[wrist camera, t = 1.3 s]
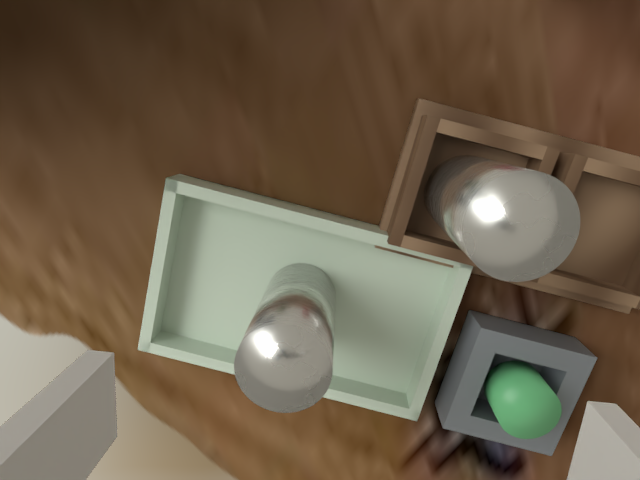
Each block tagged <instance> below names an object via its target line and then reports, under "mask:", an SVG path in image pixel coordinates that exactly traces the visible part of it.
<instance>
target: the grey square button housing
mask: <svg viewBox="0 0 640 480" xmlns="http://www.w3.org/2000/svg"><path fill="white" fill-rule="evenodd" d="M513 360H516V361H523V362H526V363H528V364H530V365H532V366H533V367H534V368H535V369H536V370H537V371H538V372H539V374H540V375H541V376H542V378H543V379H544V380H545V381H546V383H547V384H548V385H549V387H550V388H551V389H552V390H553V392H554V393H555V394H556V395H557V397H558V398H559V400H560V403H561V409H562V411H561V417H560V419H559V421H558V423H557V425H556V426H555V427H554V428H553V429H552V430H551V431H550V432H548V433H547V434H545V435H543V436H541V437H538V438H534V439H521V438H516V437H514V436H511V435H510V434H508V433H507V432H506V431H504V429H503V428H502V427H501V425H500V424H499V422H498V420H497V418H496V416H495V414H494V412H493V410H492V408H491V406H490V404H489V402H488V400H487V398H486V396H485V394H484V389H483V387H484V381H485V378H486V376H487V374H488V373H489V372H490V371H491V370H492V369H493V368H494V367H495V366H497V365H499V364H500V363H503V362H506V361H513ZM596 360H597V357H596V356H595V355H594V354H593V353H592V352H590V351H589V350H588V349H587V348H586V347H585V346H584V345H583V344H582V343H581V342H580V341H579V340H577V339H576V338H575V337H572V336H568V335H565V334H561V333H557V332H553V331H549V330H545V329H541V328H538V327H534V326H530V325H526V324H522V323H518V322H515V321H511V320H507V319H503V318H499V317H495V316H491V315H488V314H484V313H480V312H476V311H472V310H469V311H468V314H467V316H466V319H465V322H464V324H463V327H462V330H461V333H460V335H459V338H458V341H457V343H456V346H455V349H454V351H453V354H452V357H451V360H450V362H449V365H448V368H447V370H446V373H445V376H444V378H443V381H442V384H441V387H440V389H439V392H438V395H437V397H436V400H435V406H436V409H437V412H438V415H439V418H440V421H441V424H442V427H443V428H444V429H448V430H452V431H456V432H460V433H463V434H467V435H471V436H475V437H479V438H483V439H487V440H491V441H495V442H499V443H502V444H506V445H510V446H514V447H518V448H522V449H526V450H530V451H534V452H538V453H542V454H545V455H549V456H552V454H553V452H554V450H555V448H556V446H557V444H558V442H559V439H560V437H561V435H562V433H563V431H564V429H565V427H566V424H567V422H568V420H569V418H570V416H571V414H572V412H573V409H574V407H575V405H576V403H577V401H578V399H579V397H580V394H581V392H582V390H583V388H584V386H585V384H586V381H587V379H588V377H589V375H590V373H591V371H592V369H593V366H594V364H595V362H596Z"/></svg>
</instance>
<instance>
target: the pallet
mask: <svg viewBox="0 0 640 480" xmlns="http://www.w3.org/2000/svg"><path fill="white" fill-rule="evenodd" d="M459 155H472V156H477V157H481V158H485V159H490V160H494V161H498V162H502V163H506V164H510V165H514V166H518V167H523V168H527V169H531V170H535V171H539V172H543V173H546V174H549V175H551V176H553V177H555V178H557V179H558V180H560V181H561V182H563V183H564V184H565V185H566V186H567V187H568V188H569V190H570V191H571V192H572V194H573V195H574V197H575V199H576V201H577V204H578V207H579V211H580V230H579V235H578V238H577V241H576V243H575V245H574V247H573V249H572V251H571V252H570V254H569V255H568V257H567V258H566V259H565V260H564V261H563V262H562V263H561V264H560V265H559V266H558V267H557V268H555V269H554V270H553V271H551V272H549V273H548V274H546V275H544V276H542V277H539V278H536V279H533V280H529V281H523V282H509V281H504V282H508V283H512V284H516V285H520V286H524V287H527V288H531V289H535V290H539V291H543V292H547V293H550V294H554V295H558V296H562V297H566V298H570V299H573V300H577V301H581V302H585V303H589V304H593V305H596V306H600V307H604V308H608V309H612V310H616V311H619V312H623V313H627V314H629V313H630V311H631V308H635V309H639V310H640V157H639V156H635V155H631V154H627V153H624V152H620V151H616V150H612V149H609V148H605V147H601V146H597V145H593V144H590V143H586V142H582V141H578V140H575V139H571V138H567V137H563V136H560V135H556V134H552V133H548V132H545V131H541V130H537V129H533V128H530V127H526V126H522V125H518V124H514V123H511V122H507V121H503V120H499V119H496V118H492V117H488V116H484V115H481V114H477V113H473V112H469V111H466V110H462V109H458V108H454V107H450V106H447V105H443V104H439V103H435V102H432V101H428V100H424V99H420V98H419V99H417V100H416V103H415V106H414V110H413V113H412V116H411V120H410V123H409V127H408V130H407V133H406V137H405V140H404V143H403V147H402V150H401V153H400V157H399V160H398V163H397V167H396V170H395V174H394V177H393V180H392V184H391V187H390V190H389V194H388V197H387V200H386V204H385V207H384V211H383V214H382V217H381V221H380V224H379V227H380V230H383V231H387V233H388V240H387V242H388V244H390V245H394V246H398V247H402V248H405V249H409V250H413V251H417V252H421V253H425V254H428V255H432V256H436V257H440V258H444V259H448V260H451V261H455V262H459V263H463V264H467V265H471V266H473V269H472V271H471V273H474V274H478V275H481V276H485V277H489V278H493V279H496V278H494V277H492V276H490V275H488V274H486V273H485V272H483V271H482V270H481V269H479V268H478V267H477V266H476V265H475V264H474V263H473V261H472V260H471V259H470V258H469V257H468V256H467V255H466V254H465V253H464V252H463V251H462V250H461V249H460V248H459V247H458V245H457V244H456V243H455V242H454V241H453V240H452V239H451V238H450V237H449V236H448V235H447V234H446V233H445V232H444V230H443V229H442V228H441V227H440V226H439V225H438V224H437V223H436V222H435V221H434V220H433V219H432V217H431V216H430V214H429V213H428V211H427V209H426V205H425V201H424V191H425V186H426V183H427V180H428V178H429V176H430V174H431V173H432V172H433V170H434V169H435V168H436V167H437V166H438V165H439V164H441V163H442V162H444V161H445V160H447V159H449V158H452V157H455V156H459ZM374 246H375V248H378V249H382V250H386V251H389V252H393V253H397V254H401V255H405V256H409V257H412V258H416V259H420V260H424V261H428V262H432V263H435V264H439V265H443V266H447V267H451V268H453V266H454V265H450V264H446V263H442V262H438V261H434V260H431V259H427V258H423V257H419V256H415V255H411V254H408V253H404V252H400V251H396V250H392V249H388V248H385V247H381V246H377V245H374ZM497 280H499V279H497ZM501 281H503V280H501Z"/></svg>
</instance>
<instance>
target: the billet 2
mask: <svg viewBox="0 0 640 480" xmlns="http://www.w3.org/2000/svg"><path fill="white" fill-rule="evenodd" d="M424 201H425V205H426V209H427V211H428V213H429V214H430V216H431V217H432V219H433V220H434V221H435V222H436V223H437V224H438V225H439V226H440V227H441V228H442V229H443V230H444V232H445V233H446V234H447V235H448V236H449V237H450V238H451V239H452V240H453V241H454V242H455V243H456V244H457V245H458V247H459V248H460V249H461V250H462V251H463V252H464V253H465V254H466V255H467V256H468V257H469V258H470V259H471V260H472V261H473V263H474V264H475V265H476V266H477V267H478V268H479V269H481V270H482V271H483V272H485V273H486V274H488V275H490V276H492V277H494V278H496V279H499V280H503V281H509V282H523V281H529V280H533V279H536V278H539V277H542V276H544V275H546V274H548V273H549V272H551V271H553V270H554V269H555V268H557V267H558V266H559V265H560V264H561V263H562V262H563V261H564V260H565V259H566V258H567V257H568V255H569V254H570V252H571V251H572V249H573V247H574V245H575V243H576V241H577V238H578V235H579V230H580V211H579V207H578V204H577V201H576V199H575V197H574V195H573V194H572V192H571V191H570V190H569V188H568V187H567V186H566V185H565V184H564V183H563V182H561V181H560V180H558V179H557V178H555V177H553V176H551V175H549V174H546V173H543V172H539V171H535V170H531V169H527V168H523V167H518V166H514V165H510V164H506V163H502V162H498V161H494V160H490V159H485V158H481V157H477V156H472V155H459V156H455V157H452V158H449V159H447V160H445V161H444V162H442V163H441V164H439V165H438V166H437V167H436V168H435V169H434V170H433V172H432V173H431V174H430V176H429V178H428V180H427V183H426V186H425V191H424Z"/></svg>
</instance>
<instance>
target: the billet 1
mask: <svg viewBox="0 0 640 480" xmlns="http://www.w3.org/2000/svg"><path fill="white" fill-rule="evenodd" d="M335 309H336V291H335V287H334V284H333V282H332V280H331V279H330V277H329V276H328V275H327V274H326V273H325V272H324V271H323V270H321V269H320V268H318V267H316V266H314V265H311V264H306V263H294V264H290V265H287V266H285V267H283V268H281V269H280V270H279V271H277V272H276V273H275V274H274V276H273V277H272V278H271V280H270V282H269V284H268V286H267V288H266V291H265V293H264V295H263V297H262V299H261V301H260V303H259V305H258V308H257V310H256V312H255V314H254V316H253V318H252V320H251V322H250V324H249V327H248V329H247V331H246V333H245V335H244V337H243V339H242V341H241V344H240V346H239V348H238V350H237V352H236V355H235V360H234V372H235V377H236V380H237V382H238V385H239V387H240V388H241V390H242V391H243V393H244V394H245V395H246V396H247V397H248V398H249V399H250V400H251V401H253V402H254V403H255V404H257V405H259V406H260V407H262V408H265V409H267V410H270V411H275V412H282V413H291V412H297V411H301V410H304V409H306V408H309V407H310V406H312V405H314V404H315V403H317V402H318V401H319V400H320V399H321V398H322V397H323V396H324V394H325V393H326V392H327V390H328V388H329V386H330V383H331V379H332V372H333V351H334V330H335Z"/></svg>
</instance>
